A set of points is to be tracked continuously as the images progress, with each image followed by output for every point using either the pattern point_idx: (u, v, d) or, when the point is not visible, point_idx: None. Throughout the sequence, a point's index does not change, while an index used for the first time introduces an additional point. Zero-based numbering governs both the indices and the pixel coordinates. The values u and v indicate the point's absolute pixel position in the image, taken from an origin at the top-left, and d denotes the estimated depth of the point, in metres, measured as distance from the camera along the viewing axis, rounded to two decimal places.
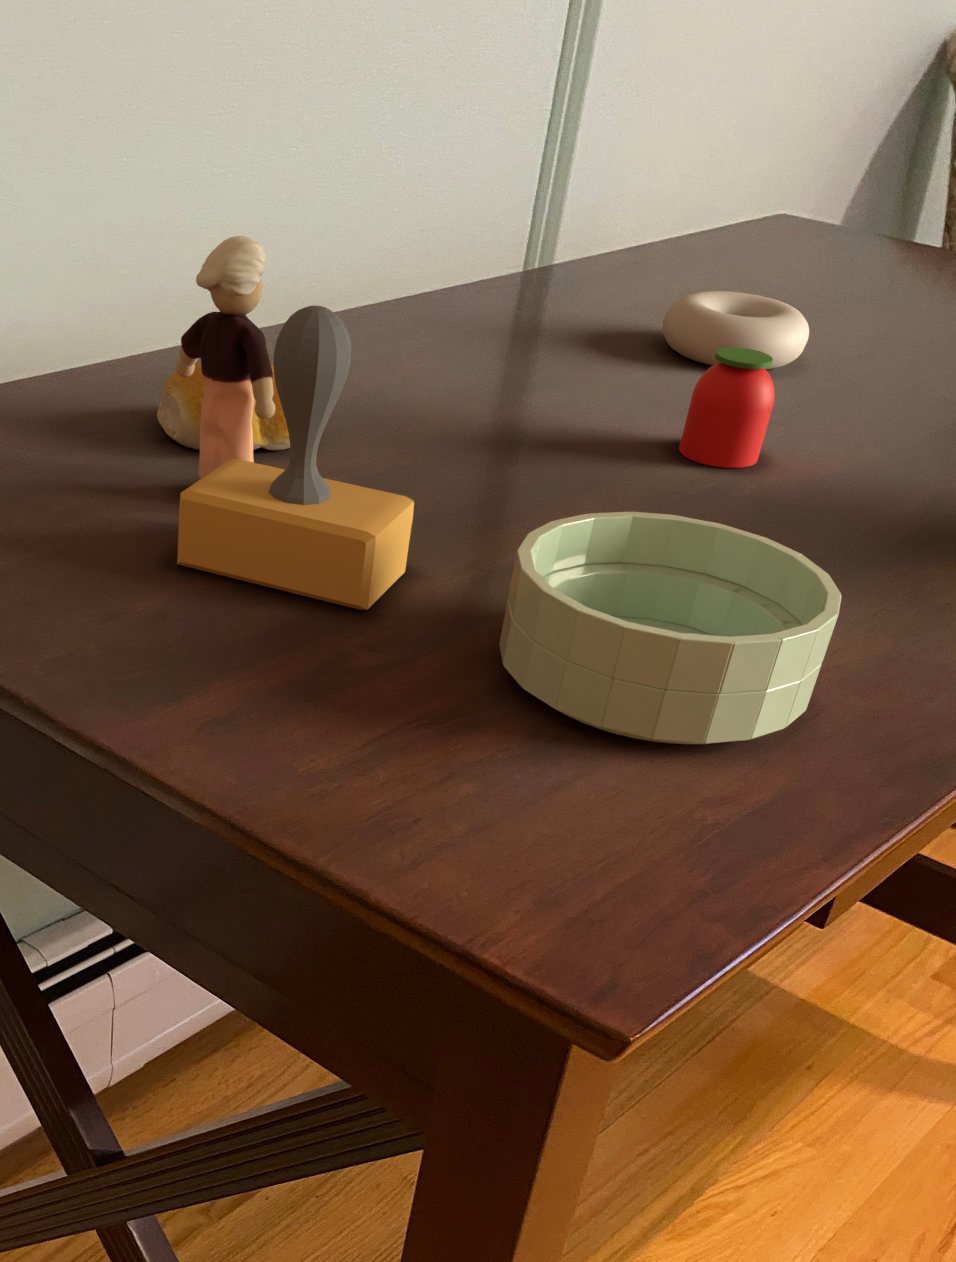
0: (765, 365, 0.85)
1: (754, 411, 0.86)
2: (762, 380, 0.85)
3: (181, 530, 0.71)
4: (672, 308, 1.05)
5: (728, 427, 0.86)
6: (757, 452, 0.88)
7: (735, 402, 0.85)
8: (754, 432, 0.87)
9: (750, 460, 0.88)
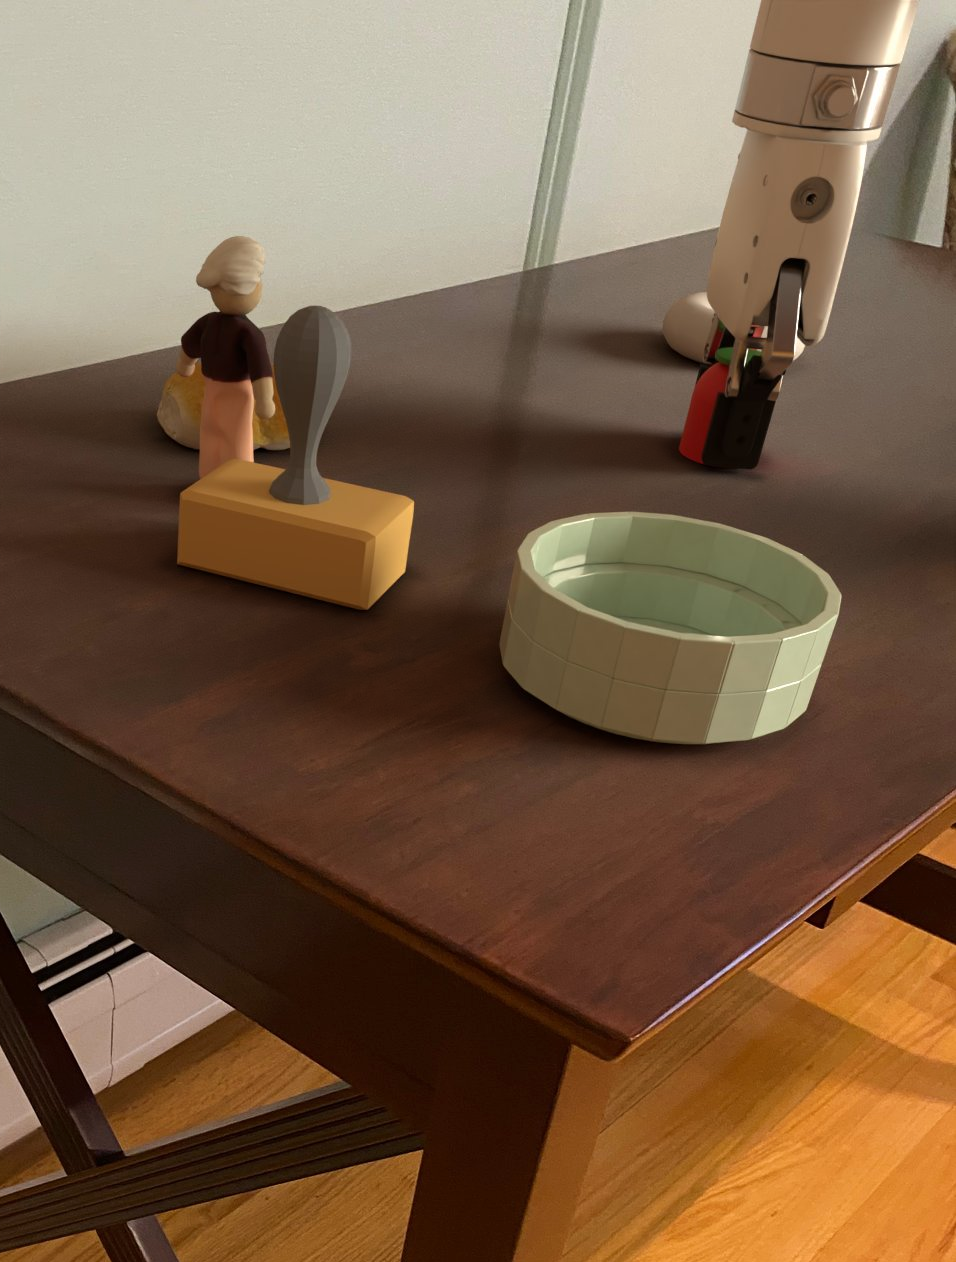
0: None
1: None
2: None
3: (181, 530, 0.71)
4: (672, 308, 1.05)
5: None
6: None
7: None
8: None
9: None
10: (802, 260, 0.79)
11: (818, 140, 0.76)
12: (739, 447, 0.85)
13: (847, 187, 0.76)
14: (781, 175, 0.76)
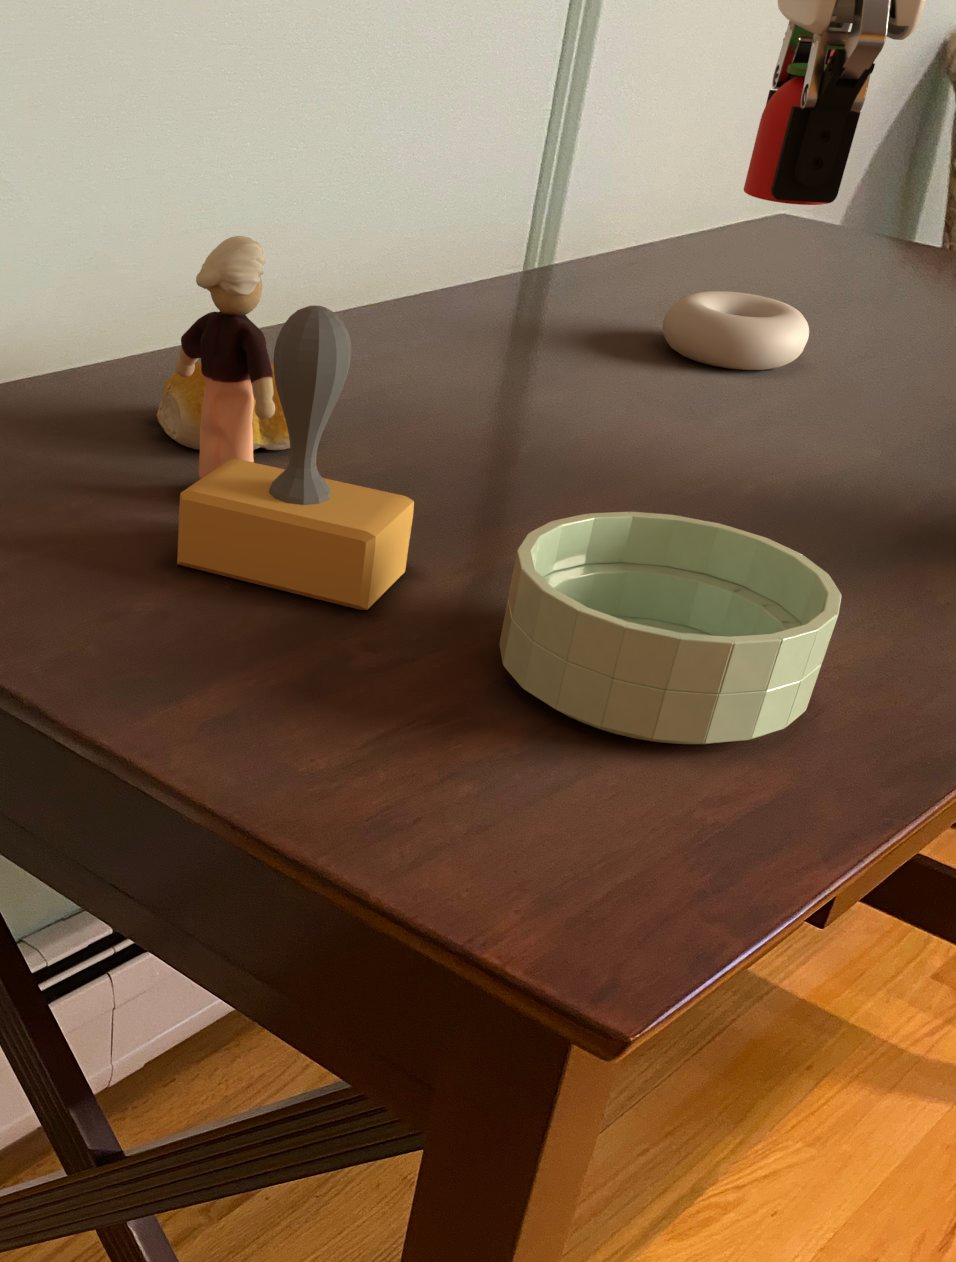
0: None
1: None
2: None
3: (181, 530, 0.71)
4: (672, 308, 1.05)
5: None
6: None
7: None
8: None
9: None
10: None
11: None
12: (816, 172, 0.74)
13: None
14: None
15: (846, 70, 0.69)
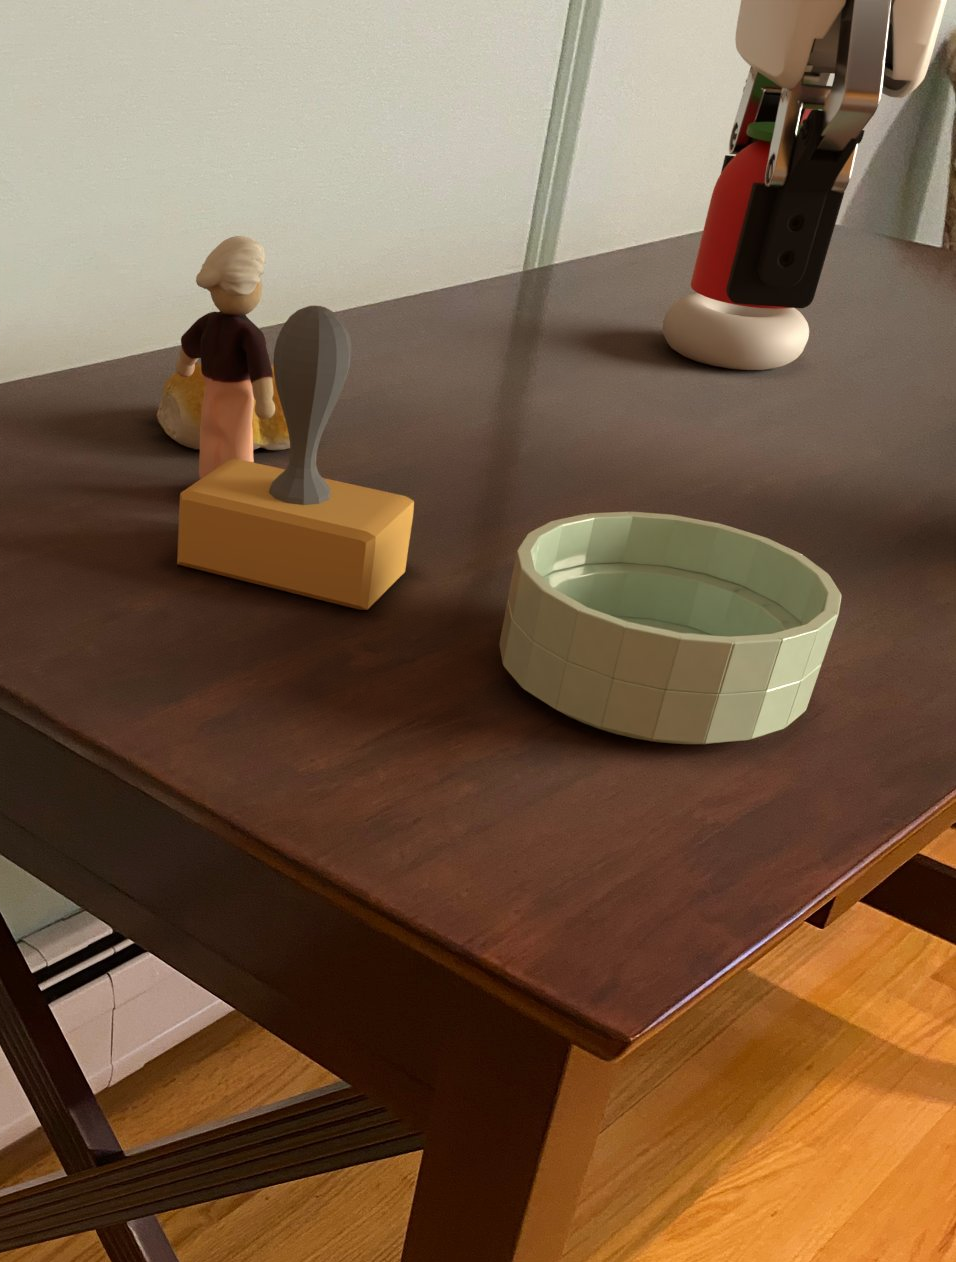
0: None
1: None
2: None
3: (181, 530, 0.71)
4: (672, 308, 1.05)
5: None
6: None
7: None
8: None
9: None
10: None
11: None
12: (785, 270, 0.55)
13: None
14: None
15: (826, 139, 0.51)
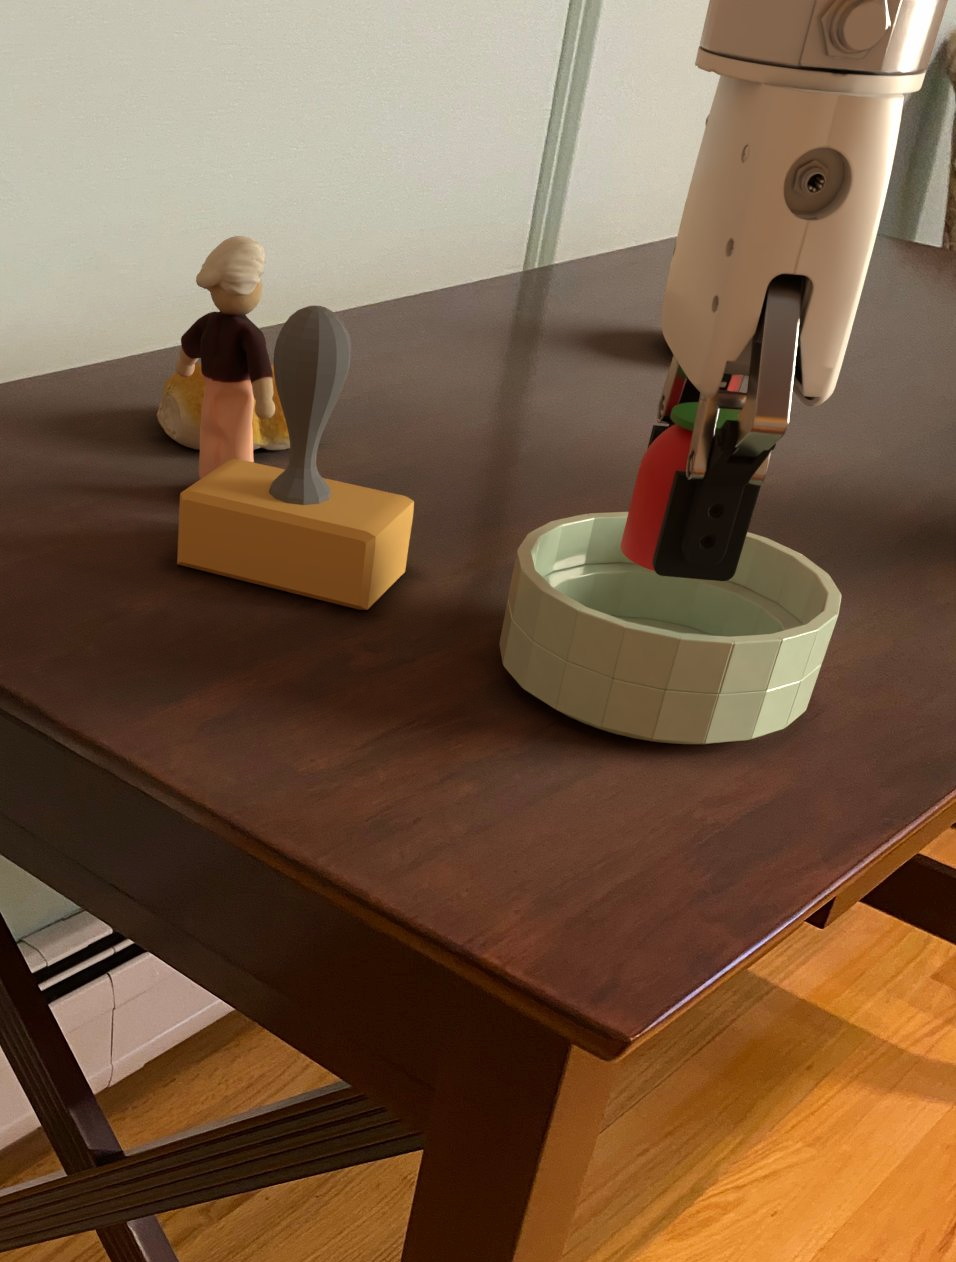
0: None
1: None
2: None
3: (181, 530, 0.71)
4: None
5: None
6: None
7: None
8: None
9: None
10: (801, 277, 0.51)
11: (828, 90, 0.48)
12: (707, 551, 0.58)
13: (873, 165, 0.49)
14: (769, 145, 0.49)
15: (740, 449, 0.54)
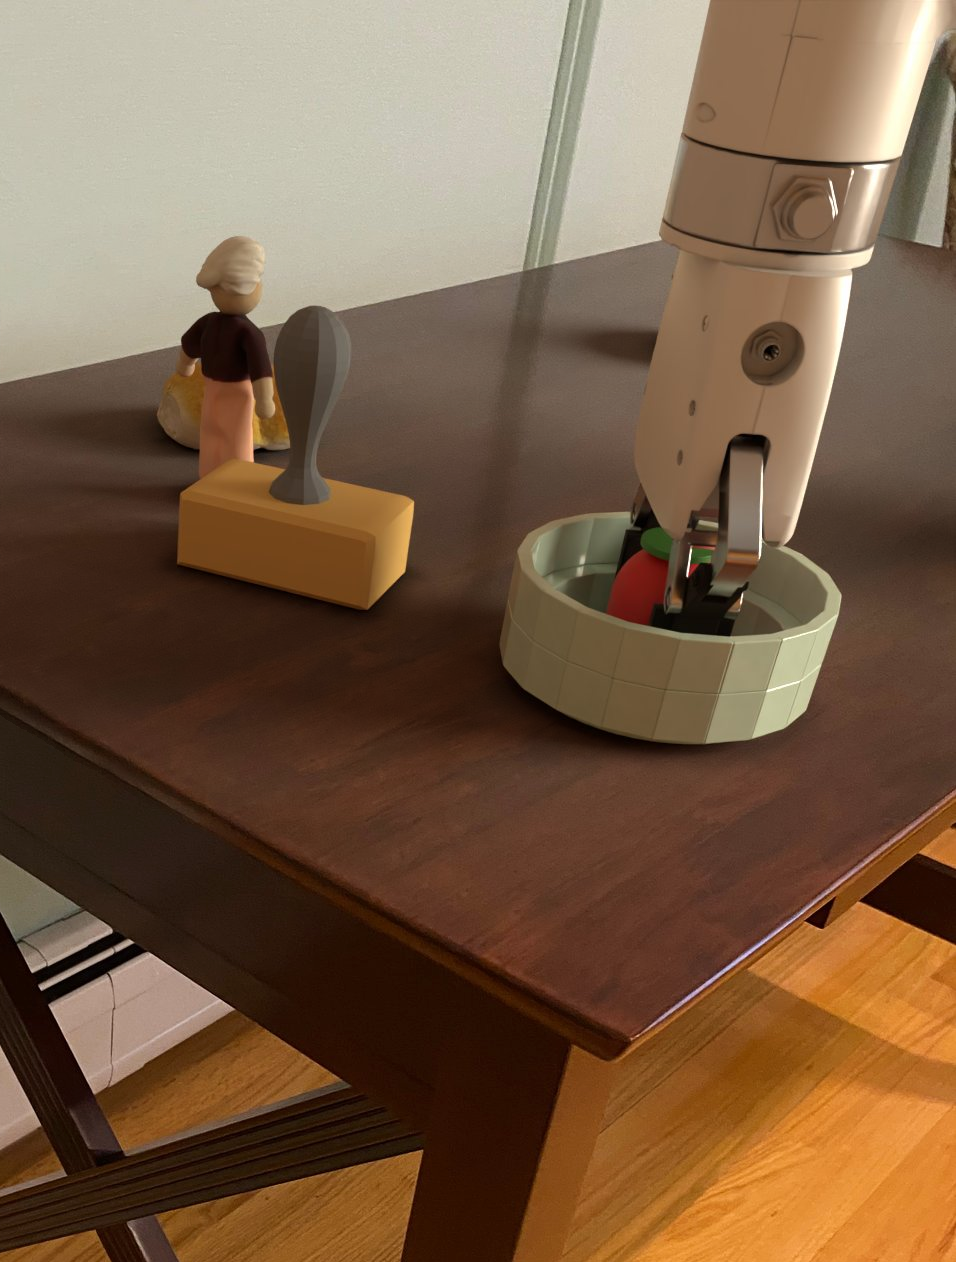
0: (709, 558, 0.61)
1: None
2: None
3: (181, 530, 0.71)
4: None
5: None
6: None
7: None
8: None
9: None
10: None
11: (781, 268, 0.52)
12: None
13: (824, 337, 0.52)
14: (727, 319, 0.52)
15: (715, 587, 0.56)
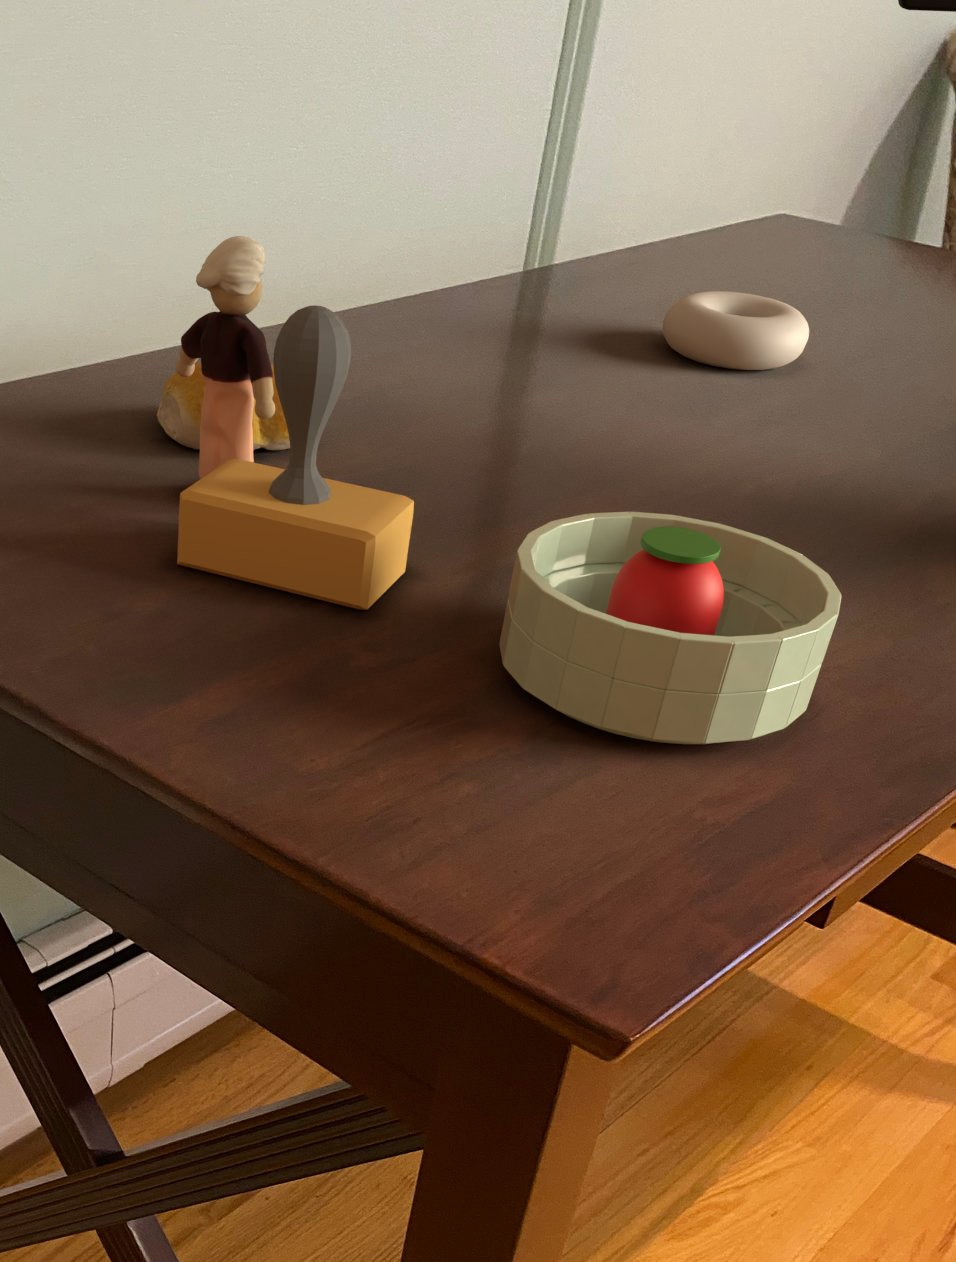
0: (709, 558, 0.61)
1: (695, 620, 0.61)
2: (706, 577, 0.61)
3: (181, 530, 0.71)
4: (672, 308, 1.05)
5: None
6: None
7: (668, 608, 0.61)
8: None
9: None
10: None
11: None
12: None
13: None
14: None
15: None
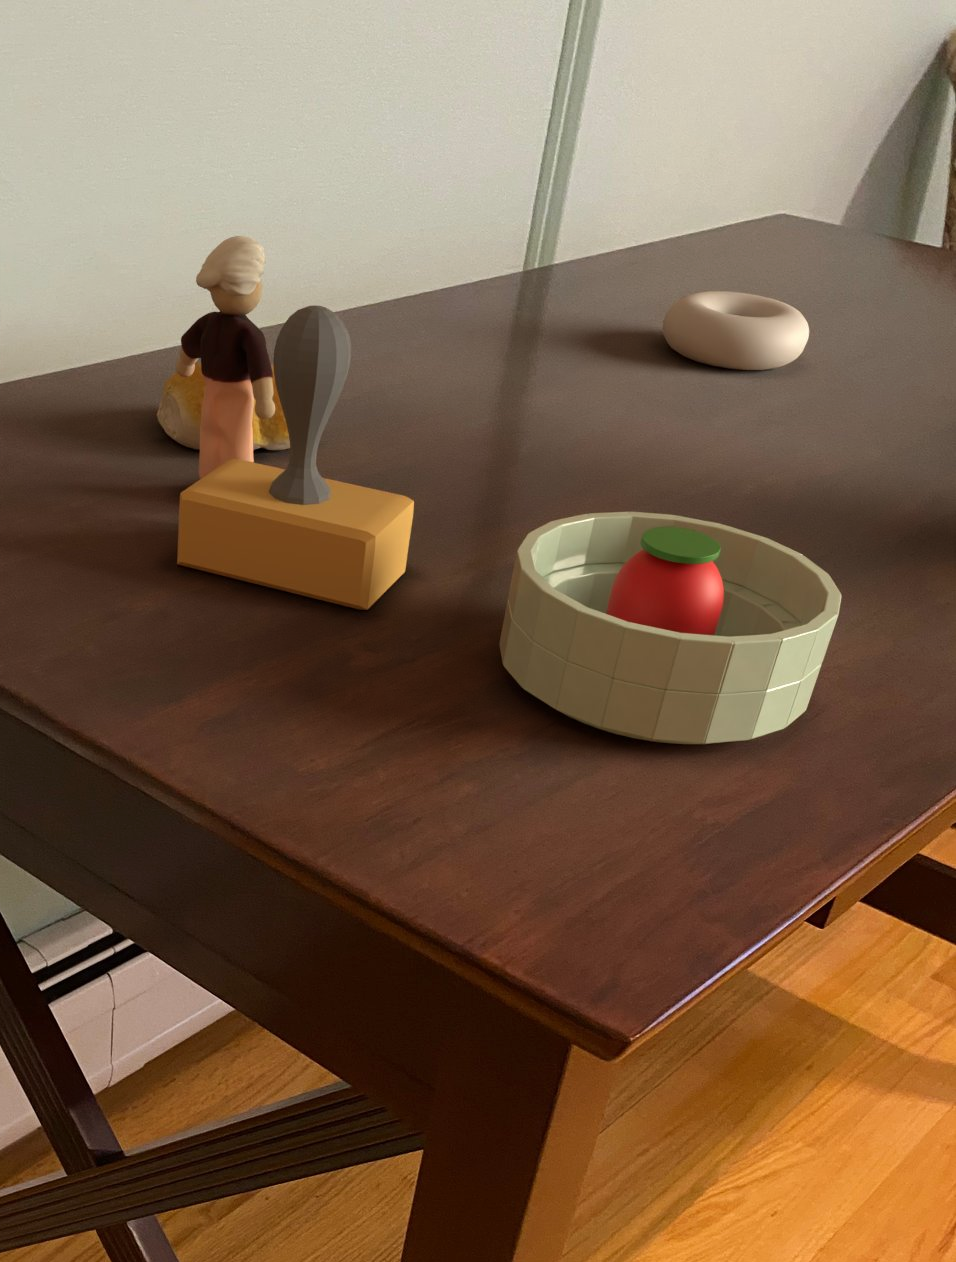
0: (709, 558, 0.61)
1: (695, 620, 0.61)
2: (706, 577, 0.61)
3: (181, 530, 0.71)
4: (672, 308, 1.05)
5: None
6: None
7: (668, 608, 0.61)
8: None
9: None
10: None
11: None
12: None
13: None
14: None
15: None
